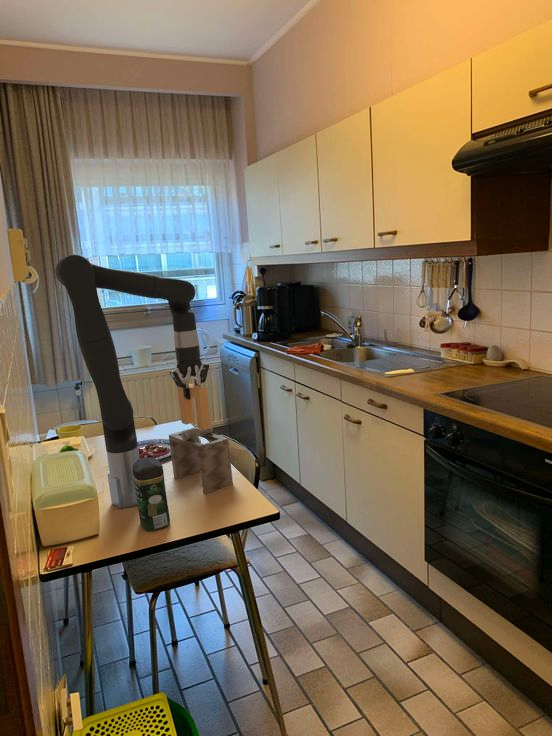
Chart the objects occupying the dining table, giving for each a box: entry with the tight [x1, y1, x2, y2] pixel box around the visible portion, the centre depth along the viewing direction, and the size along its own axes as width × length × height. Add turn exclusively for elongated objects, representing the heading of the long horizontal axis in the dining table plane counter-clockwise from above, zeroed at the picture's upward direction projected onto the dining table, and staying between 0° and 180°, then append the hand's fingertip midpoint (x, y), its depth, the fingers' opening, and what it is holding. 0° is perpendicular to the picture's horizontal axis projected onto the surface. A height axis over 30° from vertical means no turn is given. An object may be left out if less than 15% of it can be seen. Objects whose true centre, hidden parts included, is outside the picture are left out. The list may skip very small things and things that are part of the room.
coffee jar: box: [133, 457, 171, 531], centre depth 155 cm, size 10×8×19 cm
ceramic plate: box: [137, 438, 171, 461], centre depth 214 cm, size 26×26×3 cm
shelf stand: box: [168, 425, 234, 494], centre depth 183 cm, size 10×20×18 cm, turn 40°
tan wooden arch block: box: [176, 383, 212, 430], centre depth 180 cm, size 3×13×13 cm, turn 40°
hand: (193, 397), depth 179 cm, fingers closed on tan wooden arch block, 3 cm apart
